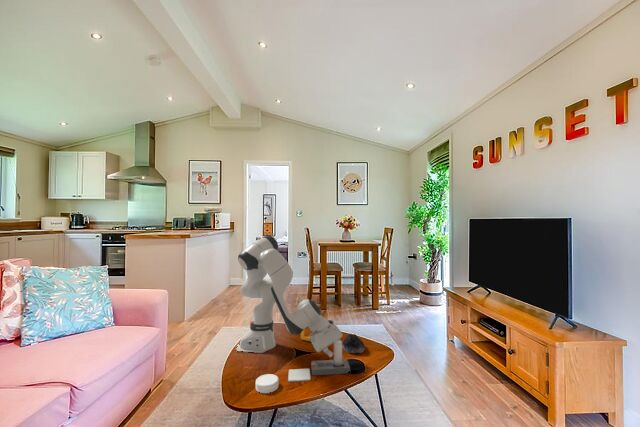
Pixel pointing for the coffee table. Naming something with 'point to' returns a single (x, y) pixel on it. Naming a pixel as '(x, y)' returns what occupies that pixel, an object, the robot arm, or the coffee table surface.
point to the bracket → (306, 334)
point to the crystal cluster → (353, 344)
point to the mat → (299, 375)
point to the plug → (338, 354)
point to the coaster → (267, 383)
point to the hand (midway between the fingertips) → (337, 352)
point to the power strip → (328, 367)
